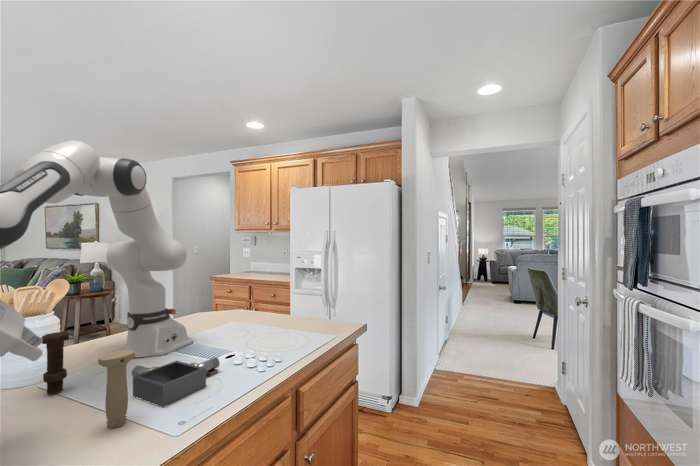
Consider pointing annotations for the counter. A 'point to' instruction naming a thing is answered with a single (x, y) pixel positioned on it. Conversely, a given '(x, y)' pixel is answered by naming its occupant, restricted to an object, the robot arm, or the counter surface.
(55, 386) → the bolt
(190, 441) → the counter surface
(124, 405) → the handle
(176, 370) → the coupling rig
